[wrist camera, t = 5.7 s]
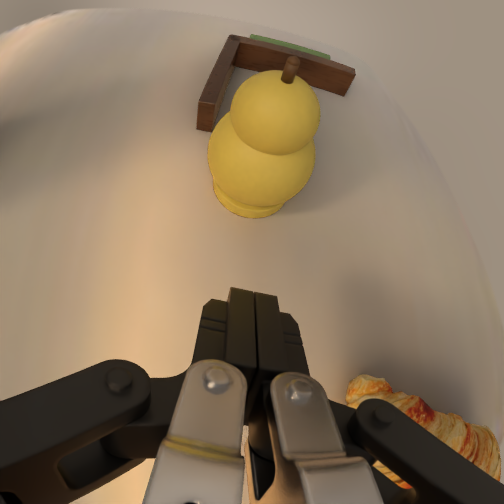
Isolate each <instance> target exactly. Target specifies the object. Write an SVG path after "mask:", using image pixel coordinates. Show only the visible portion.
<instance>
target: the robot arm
mask: <svg viewBox="0 0 504 504" xmlns="http://www.w3.org/2000/svg"><path fill="white" fill-rule="evenodd" d="M302 344H303V343H302V339H301V337H300V330H299V326H298V324H297V322H296V321H295V320H294V319H293V317H292V316H291V315H290V314H288V313H283V312H280V311H279V305H278V299H277V296H273V295H268V294H263V293H258V292H254V293H253V291H248V290H243V289H238V288H233V287H231V288H230V291H229V295H228V299H227V302H225V301H221V300H216V299H211V300H210V301H209V302H208V303H206V304H205V305H204V306H203V310H202V315H201V320H200V325H199V330H198V334H197V339H196V344H195V349H194V354H193V359H192V363H191V365H190V367H189V368H188V369H187V370H186V371H184V372H183V373H181V374H179V375H177V376H173V377H168V378H150V377H149V376H148V374H147V373H146V371H145V370H144V369H143V368H141V367H140V366H138V365H137V364H135V363H133V362H130V361H126V360H119V359H113V360H107V361H103V362H101V363H98V364H96V365H93V366H91V367H88V368H86V369H84V370H81V371H79V372H76V373H74V374H71V375H69V376H66V377H63V378H61V379H58V380H56V381H53V382H51V383H48V384H46V385H43V386H40V387H38V388H35V389H32V390H30V391H27V392H24V393H22V394H19V395H16V396H14V397H11V398H8V399H5V400H3V401H0V504H68V503H70V502H72V501H74V500H76V499H78V498H80V497H82V496H84V495H86V494H88V493H90V492H92V491H94V490H95V489H97V488H99V487H101V486H103V485H105V484H106V483H108V482H110V481H112V480H113V479H115V478H117V477H119V476H120V475H122V474H124V473H126V472H127V471H129V470H131V469H132V468H134V467H136V466H137V465H139V464H140V463H142V462H143V461H144V460H145V459H146V458H156V459H155V463H154V466H153V469H152V472H151V476H150V479H149V482H148V486H147V489H146V492H145V496H144V499H143V502H142V504H241V503H242V492H243V481H244V470H245V463H246V473H247V483H248V492H249V502H250V504H504V485H503V484H502V483H500V482H499V481H498V480H496V479H495V478H493V477H492V476H490V475H489V474H487V473H486V472H485V471H483V470H482V469H480V468H479V467H477V466H476V465H475V464H473V463H472V462H470V461H469V460H467V459H466V458H465V457H463V456H462V455H460V454H459V453H458V452H456V451H455V450H453V449H452V448H451V447H449V446H448V445H447V444H445V443H444V442H442V441H441V440H440V439H438V438H437V437H436V436H434V435H433V434H432V433H430V432H429V431H427V430H426V429H425V428H423V427H422V426H421V425H419V424H418V423H417V422H415V421H414V420H413V419H411V418H410V417H409V416H407V415H406V414H405V413H403V412H402V411H401V410H399V409H398V408H397V407H395V406H394V405H393V404H391V403H389V402H387V401H385V400H382V399H377V398H371V399H366V400H364V401H363V402H361V403H360V404H359V406H358V407H357V409H355V408H352V407H349V406H346V405H342V404H339V403H336V402H334V401H331V400H329V399H328V398H327V395H326V392H325V390H324V388H323V387H322V386H321V385H320V383H319V382H317V381H316V380H315V379H313V378H312V377H310V373H309V369H308V365H307V360H306V356H305V352H304V347H303V346H302ZM243 425H246V426H249V436H248V438H247V440H246V442H245V445H244V453H245V460H244V456H241V441H242V431H243ZM377 461H379V462H380V463H382V464H383V465H384V466H386V467H387V468H388V469H389V470H391V471H392V472H393V473H394V474H396V475H397V476H398V477H400V478H401V479H402V480H404V481H405V482H406V483H408V484H409V485H410V486H412V488H409V489H405V488H401V487H400V486H398V485H397V484H396V483H394V482H393V481H392V480H390V479H389V478H388V477H387V476H385V475H384V474H383V473H381V472H380V471H379V470H378V469H376V468H375V467H374V466H373V465H374V464H375V463H376V462H377Z"/></svg>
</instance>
